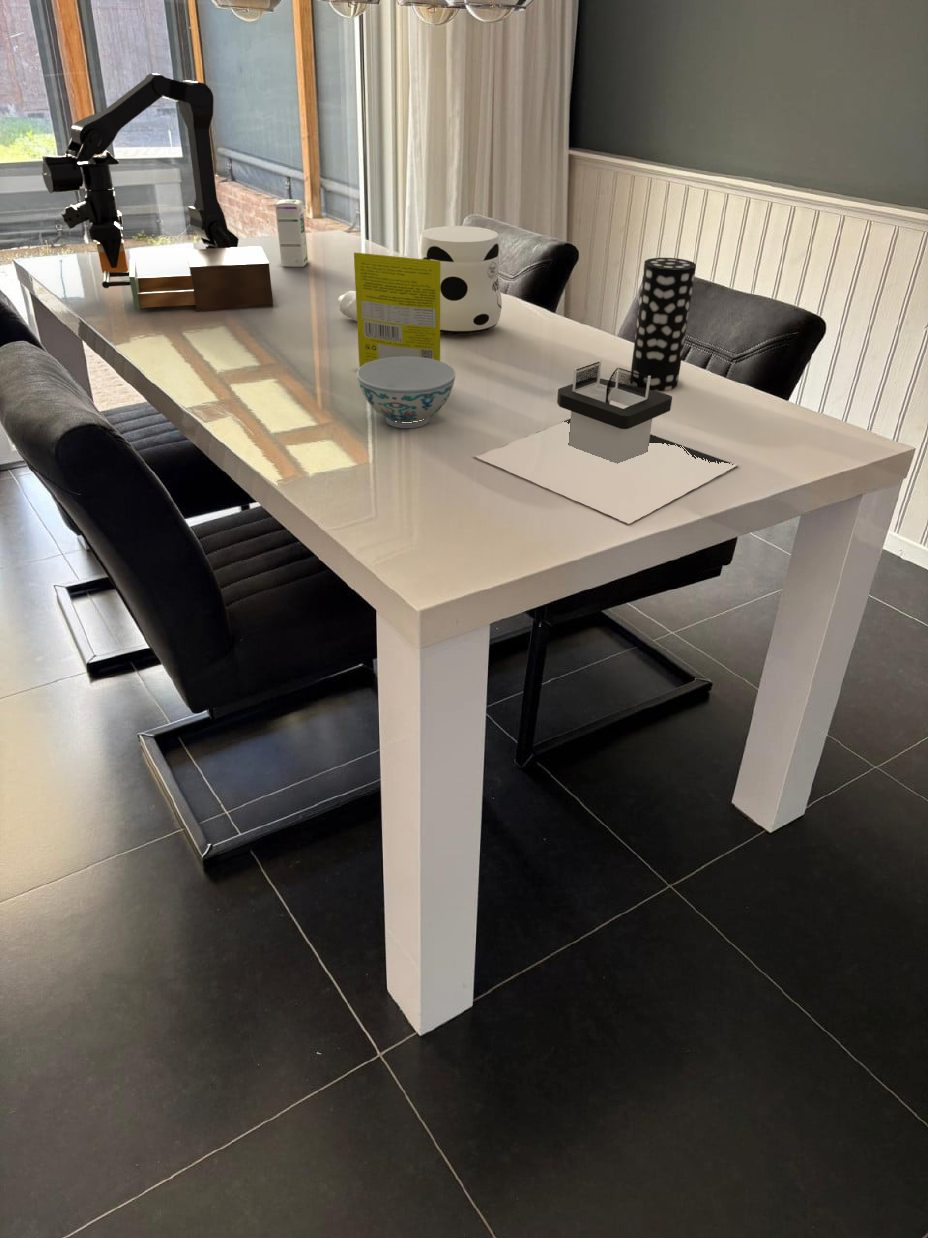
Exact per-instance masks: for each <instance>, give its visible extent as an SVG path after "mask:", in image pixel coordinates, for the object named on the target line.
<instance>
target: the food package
mask: <svg viewBox="0 0 928 1238" xmlns="http://www.w3.org/2000/svg"><path fill="white" fill-rule="evenodd" d="M353 258H354V259H353V263H354V267H353V268H354V285H355V286H354V287H355V291H356V308H357V322H356V324H357V346H358V365H359V366H358V367H359V368H360V367H361V366H363V365H364V364H366V363H369V362H371V361H374V360H378V359H383V358H390V357H423V358H429V359H434V360H438V361H441V333H440V261H434V260H425V259H419V258H413V257H405V256H396V255H383V254H374V253H366V252H365V253H363V252H353ZM359 368H358V369H359Z"/></svg>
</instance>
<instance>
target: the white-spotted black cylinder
mask: <svg viewBox="0 0 928 1238" xmlns="http://www.w3.org/2000/svg"><path fill="white" fill-rule="evenodd" d="M696 269H697V264H696V263H695V262H694V261H691V260H688V259H684V258H675V257H653V258H648V259H646V260H644V262H643V271H642V280H641V287H640V296H639V303H638V312H637V320H636V327H635V328H636V329H635V336H634V343H633V351H632V360H631V367H630V371H631V372H635V373H638V374H641V375H644V376H647V377H648V376H651V378H650V385H649V390H653V391H657V392H663V391H664V392H665V391H670V390H673V389H675V388H677V387H678V383H679V377H680V371H681V366H682V358H683V351H684V347H685V345H684V344H685V339H686V333H687V326H688V321H689V313H690V307H691V300H692V294H693V288H694V281H695V275H696ZM631 375H632V376H634V377H636V376H635V374H633V373H631ZM632 376H631V378H632V380H633V381H634V383H635V385H636V386H637V384H636V382H635V380H634V379H633V377H632ZM639 378H640V379H642V377H641V376H640V375H638V378H637V379H638V381H639V382H640V380H639ZM644 379H645V380H646V381H648V379H647V378H646V377H644ZM630 380H631V379H630ZM645 380H644V382H645V384H646V386H647V383H646V381H645ZM636 381H637V380H636ZM631 382H632V381H631ZM637 383H638V382H637ZM640 384H641V386H642V388H644V387H643V385H642V383H641V382H640ZM643 384H644V383H643ZM644 386H645V385H644ZM637 387H638V386H637ZM640 388H641V387H640Z"/></svg>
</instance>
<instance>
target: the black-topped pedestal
mask: <svg viewBox="0 0 928 1238" xmlns="http://www.w3.org/2000/svg"><path fill="white" fill-rule="evenodd" d="M602 363H603V361H602V360H599V361H597V362H594V363H591V364H588V365H585V366H582V367H579V368H576V367H575V368H573V369H574V370H573V381H572V383H571V384H568V385H565V386H562V387H560V388H558V389H557V396H556V397H557V399H556V403H557V406H558V407H559V408H562V409H564V410H566V411H570V418H568V419H566V420H563V421H564V422H567V421H568V422H567V423H568V424H569V423H570V432H569V443H568V445H569V446H572V447H574V448H576V449H579V450H582V451H584V452H587V453H590V454H592V455H595V456H598V457H601V458H603V459H606V460H609V461H610V462H614V463H617V464H618V463H620V462H623V461H626V460H628V459H631V458H634V457H636V456H639V455H642V454H644V453H646V452H648V446H649V443H662V444H664V443H666V444H667V445H668V444H670V445H675V444H676V445H677V446H678V447H680V446H681V447H682V446H683V447H684V448H685V449H686V450H687V451H688V452H689V453H690V454H691V455H692V457H694V458H695V459H696V457H697V458H698V457H699V458H701V459H702V460H704V459H705V461H706V459H707V460H708V462H709V461H710V462H715V463H716V461H717V463H718V464H719V462H720V463H721V462H724V463H729V464H730V463H731V462H729V461H727V460H724V459H721V458H719V457H716V456H713V455H710V454H707V453H704V452H702V451H699V450H697V449H693V448H691V447H687V446H685V445H681V444H679V443H677V442H673V441H670V440H668V439H666V438H662V437H659V436H657V435H654V434H652V433H651V432H652V426H653V425H652V424H653V419H655V418H657V417H660V416H661V415H664V414H666V413H669V412H670V411H671V410H672V402H673V396H672V395H670V394H666V393H664V392H662V391H653V390H649V385H650V378H651V376H648V377H647V376H644V375H641V374H638V373H635V372H631V370H628V369H624V368H622V367H621V366H620V365H619V366H617V368H616V369H615V370H614V371H613V372H612V374H611V375H610V377H609V379H605V378H601V373H602ZM631 373H633V374H635V376H636V377H634V376H632V375H631ZM638 375H640V376H641V377H642V379H640V378H639V380H640V382H641V383H642V385H643V387H644V388H642V386H641V384H640V382H639V381H638V379H637V378H638ZM631 376H632V377H633V379H634V380H635V382H636V384H637V386H638V387H637V386H636V385H635V383H634V381H633V380H632V378H631ZM644 377H646V378H647V379H648V381H646V380H645V379H644ZM630 379H631V380H630ZM636 380H637V381H636ZM644 380H645V381H646V383H647V386H646V384H645V382H644ZM631 381H632V382H631ZM637 382H638V383H637ZM643 383H644V384H643ZM644 385H645V386H644ZM640 387H641V388H640ZM611 401H612V402H615V403H618V404H621V405H624V406H626V407H624V408H622V407H620V406H616V405H614V404H611V403H610V402H611ZM676 445H675V446H676ZM668 446H669V445H668ZM681 447H680V448H681ZM683 447H682V448H683ZM684 448H683V449H684ZM685 449H684V451H686V450H685ZM687 451H686V453H687ZM687 454H688V453H687ZM688 455H689V454H688ZM694 455H695V456H696V457H695V456H694ZM703 458H704V459H703ZM710 462H709V463H710ZM733 464H734V463H733ZM733 464H732V465H733Z"/></svg>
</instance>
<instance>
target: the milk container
mask: <svg viewBox="0 0 928 1238" xmlns="http://www.w3.org/2000/svg"><path fill="white" fill-rule="evenodd" d="M418 246H419V247H418V248H419V255H418V259H425V260H434V261H440V334H446V335H447V334H448V335H454V336H455V335H465V336H466V335H472V334H473V335H474V334H479V333H483V332H487V331H490V330H491V329H493V328H494V327H496V325H497V324H498V323H499V321H500V318H501V315H502V307H503V305H502V304H503V302H502V300H503V299H502V293H501V291H500V286H499V285H500V284H499V267H500V255H499V254H500V236H499V233H498V232H496V231H495V230H493V229H489V228H485V227H479V226H469V225H446V226H444V225H443V226H436V227H430V228H426V229H424V230H422V231H421V233H420V235H419V245H418Z"/></svg>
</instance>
